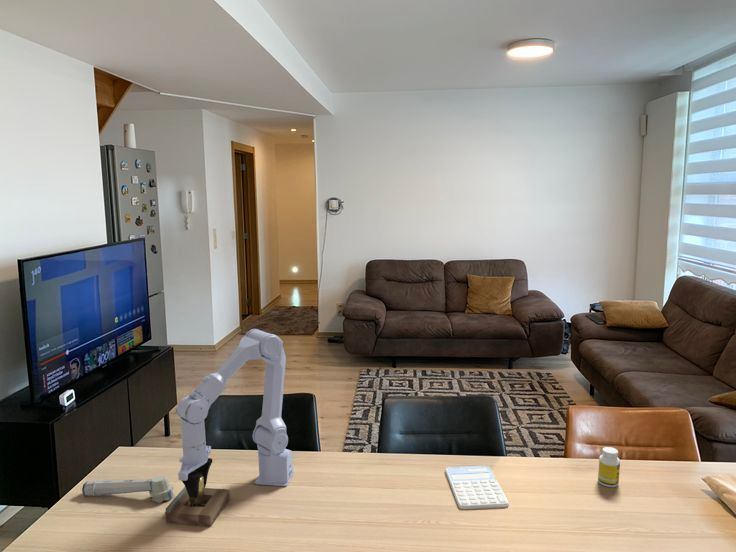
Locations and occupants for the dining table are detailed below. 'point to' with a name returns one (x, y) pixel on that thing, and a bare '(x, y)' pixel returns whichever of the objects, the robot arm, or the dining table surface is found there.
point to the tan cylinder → (201, 492)
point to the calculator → (476, 487)
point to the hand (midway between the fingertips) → (197, 491)
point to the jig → (197, 508)
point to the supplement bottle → (609, 467)
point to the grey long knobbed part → (130, 487)
